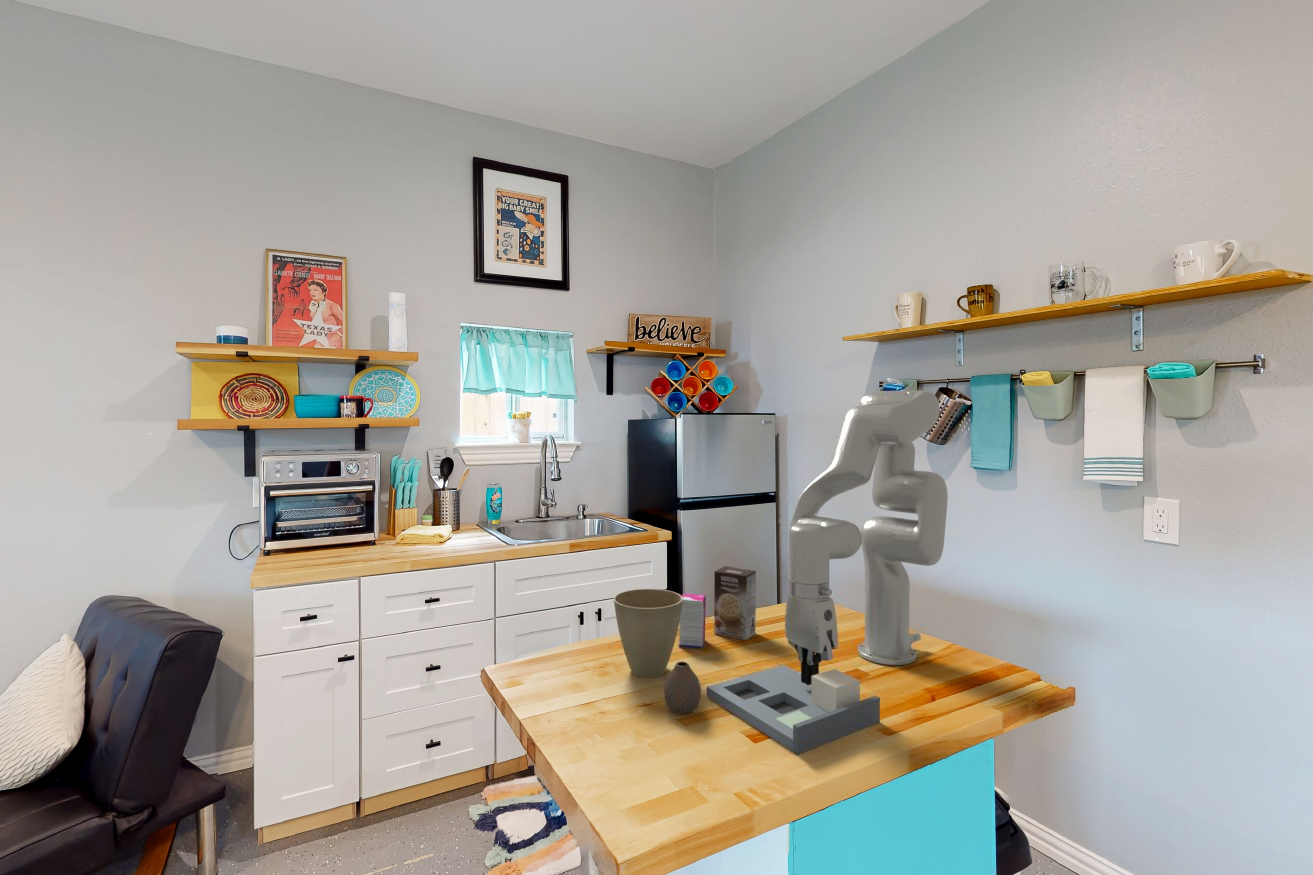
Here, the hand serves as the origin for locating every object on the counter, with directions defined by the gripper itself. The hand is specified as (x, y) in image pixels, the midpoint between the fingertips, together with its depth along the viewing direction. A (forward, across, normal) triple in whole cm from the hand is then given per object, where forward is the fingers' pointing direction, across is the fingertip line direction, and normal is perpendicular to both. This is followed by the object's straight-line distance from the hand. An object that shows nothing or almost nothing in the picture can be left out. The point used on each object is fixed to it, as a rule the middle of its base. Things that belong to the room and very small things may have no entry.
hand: (810, 681), depth 123 cm
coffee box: (+4, +36, -11) cm, 38 cm away
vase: (+3, +10, +23) cm, 25 cm away
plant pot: (+3, +28, +19) cm, 35 cm away
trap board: (+3, 0, +6) cm, 7 cm away
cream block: (+1, -8, +1) cm, 8 cm away
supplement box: (+4, +36, +2) cm, 37 cm away
